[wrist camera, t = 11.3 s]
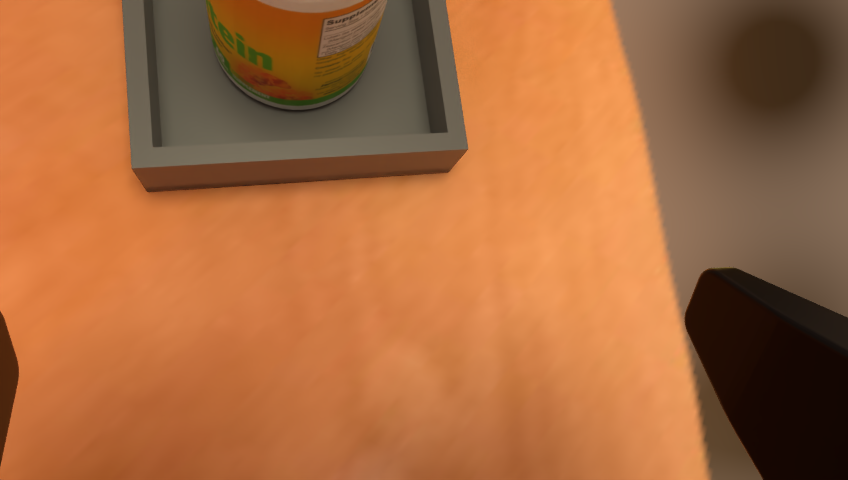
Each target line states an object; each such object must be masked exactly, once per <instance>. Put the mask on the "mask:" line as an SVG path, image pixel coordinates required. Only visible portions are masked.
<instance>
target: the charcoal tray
mask: <svg viewBox="0 0 848 480" xmlns="http://www.w3.org/2000/svg"><path fill="white" fill-rule="evenodd" d="M122 9H123V26H124V44H125V61H126V78H127V96H128V113H129V131H130V148H131V165H132V170H133V171H134V173H135V174H136V176H137V177H138V179H139V180H140V182H141V183H142V185H143V186H144V188H145V189H146V191H147V192H156V191H171V190H186V189H201V188H217V187H232V186H247V185H262V184H277V183H292V182H308V181H323V180H338V179H353V178H368V177H384V176H399V175H414V174H429V173H444V172H449V171H450V170H451V169H452V167H453V166H454V165H455V164H456V163H457V162H458V160H459V159H460V158H461V157H462V156H463V155H464V153H465V152H466V151H467V150H468V144H467V138H466V131H465V125H464V118H463V112H462V105H461V98H460V92H459V85H458V79H457V72H456V66H455V59H454V53H453V46H452V40H451V33H450V27H449V20H448V14H447V7H446V1H445V0H387V3H386V6H385V10H384V13H383V16H382V19H381V22H380V26H379V29H378V32H377V35H376V39H375V42H374V45H373V48H372V52H371V55H370V57H369V60H368V63H367V65H366V67H365V70H364V72H363V73H362V75H361V77H360V78H359V80H358V81H357V83H356V84H355V85H354V86H353V87H352V88H351V89H350V90H349V91H348V92H347V93H346V94H344V95H343V96H341V97H340V98H338V99H337V100H335V101H333V102H331V103H329V104H326V105H323V106H320V107H317V108H312V109H306V110H289V109H282V108H277V107H273V106H270V105H267V104H264V103H262V102H260V101H258V100H256V99H254V98H252V97H251V96H249V95H247V94H246V93H245V92H243V91H242V90H241V89H240V88H239V87H237V86H236V85H235V84H234V83H233V82H232V80H231V79H230V78H229V77H228V76H227V74H226V73H225V71H224V70H223V68H222V67H221V65H220V63H219V61H218V58H217V56H216V54H215V50H214V47H213V43H212V39H211V33H210V26H209V19H208V13H207V7H206V0H122Z"/></svg>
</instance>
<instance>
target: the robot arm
mask: <svg viewBox="0 0 848 480" xmlns="http://www.w3.org/2000/svg"><path fill="white" fill-rule="evenodd" d="M685 326H686V330H687V332H688V334H689V337H690V339H691V341H692V343H693V345H694V347H695V349H696V352H697V354H698V356H699V358H700V360H701V363H702V365H703V367H704V369H705V371H706V373H707V376H708V378H709V380H710V382H711V384H712V386H713V388H714V391H715V393H716V395H717V397H718V399H719V401H720V404H721V406H722V408H723V410H724V412H725V414H726V416H727V418H728V420H729V422H730V423H731V425H732V427H733V429H734V431H735V433H736V434H737V436H738V438H739V439H740V441H741V443H742V445H743V446H744V448H745V450H746V451H747V453H748V455H749V456H750V458H751V460H752V462H753V463H754V465H755V467H756V468H757V470H758V472H759V474H760V475H761V477H762V479H763V480H848V318H847V317H845V316H843V315H841V314H838V313H836V312H834V311H832V310H829V309H827V308H825V307H823V306H820V305H818V304H816V303H814V302H811V301H809V300H807V299H805V298H802V297H800V296H798V295H796V294H793V293H791V292H789V291H787V290H784V289H782V288H780V287H778V286H775V285H773V284H771V283H768V282H766V281H764V280H762V279H759V278H757V277H755V276H753V275H751V274H748V273H746V272H744V271H742V270H739V269H737V268H732V267H723V268H709V269H707V270H705V271H704V272H703V273H702V274H701V275H700V277H699V279H698V282H697V284H696V287H695V289H694V292H693V294H692V297H691V299H690V302H689V304H688V307H687V309H686V312H685ZM18 378H19V367H18V361H17V357H16V354H15V351H14V348H13V345H12V341H11V338H10V335H9V332H8V329H7V326H6V322H5V319H4V317H3V315H2V313H1V312H0V465H1V461H2V456H3V451H4V446H5V442H6V437H7V432H8V427H9V423H10V418H11V413H12V408H13V404H14V399H15V394H16V389H17V385H18Z"/></svg>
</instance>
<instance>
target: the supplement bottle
mask: <svg viewBox="0 0 848 480" xmlns="http://www.w3.org/2000/svg"><path fill="white" fill-rule="evenodd" d="M386 3H387V0H206V7H207V13H208V19H209V26H210V33H211V39H212V43H213V47H214V50H215V54H216V56H217V58H218V61H219V63H220V65H221V67H222V68H223V70H224V71H225V73H226V74H227V76H228V77H229V78H230V79H231V80H232V82H233V83H234V84H235V85H236V86H237V87H239V88H240V89H241V90H242V91H243V92H245V93H246V94H247V95H249V96H251V97H252V98H254V99H256V100H258V101H260V102H262V103H264V104H267V105H270V106H273V107H277V108H282V109H289V110H306V109H312V108H317V107H320V106H323V105H326V104H329V103H331V102H333V101H335V100H337V99H338V98H340V97H341V96H343V95H344V94H346V93H347V92H348V91H349V90H350V89H351V88H352V87H353V86H354V85H355V84H356V83H357V81H358V80H359V78H360V77H361V75H362V73H363V72H364V70H365V67H366V65H367V63H368V60H369V57H370V55H371V52H372V48H373V45H374V42H375V39H376V35H377V32H378V29H379V26H380V22H381V19H382V16H383V13H384V10H385V6H386Z"/></svg>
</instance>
